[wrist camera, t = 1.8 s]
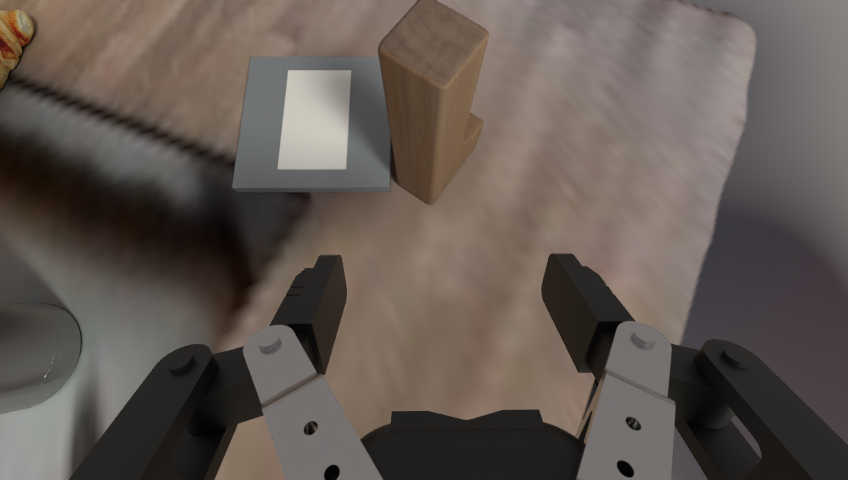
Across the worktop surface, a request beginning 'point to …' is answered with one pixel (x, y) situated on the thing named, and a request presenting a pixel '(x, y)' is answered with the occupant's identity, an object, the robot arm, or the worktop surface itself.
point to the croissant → (13, 39)
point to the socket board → (314, 126)
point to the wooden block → (431, 94)
